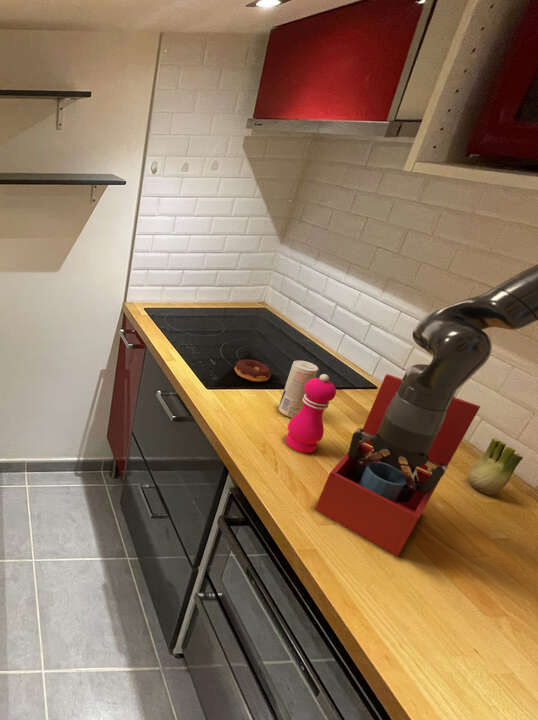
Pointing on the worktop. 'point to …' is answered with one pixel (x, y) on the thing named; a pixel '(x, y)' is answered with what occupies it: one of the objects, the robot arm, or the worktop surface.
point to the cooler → (370, 506)
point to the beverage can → (296, 387)
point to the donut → (252, 370)
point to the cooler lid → (450, 431)
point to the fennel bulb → (494, 468)
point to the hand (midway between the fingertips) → (379, 489)
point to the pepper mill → (310, 415)
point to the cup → (383, 480)
